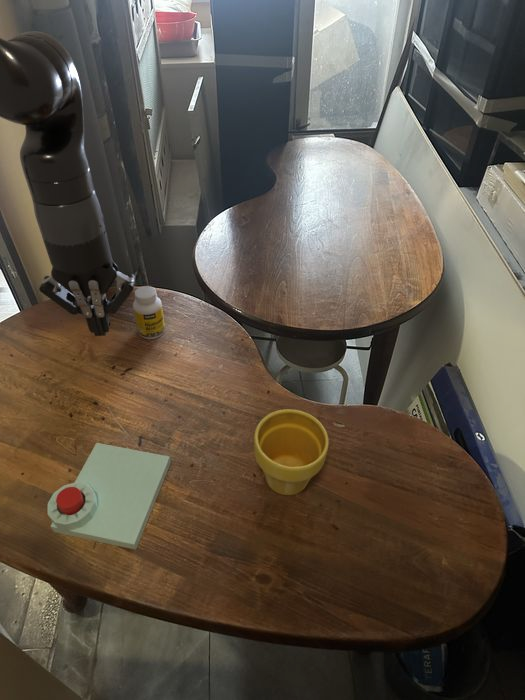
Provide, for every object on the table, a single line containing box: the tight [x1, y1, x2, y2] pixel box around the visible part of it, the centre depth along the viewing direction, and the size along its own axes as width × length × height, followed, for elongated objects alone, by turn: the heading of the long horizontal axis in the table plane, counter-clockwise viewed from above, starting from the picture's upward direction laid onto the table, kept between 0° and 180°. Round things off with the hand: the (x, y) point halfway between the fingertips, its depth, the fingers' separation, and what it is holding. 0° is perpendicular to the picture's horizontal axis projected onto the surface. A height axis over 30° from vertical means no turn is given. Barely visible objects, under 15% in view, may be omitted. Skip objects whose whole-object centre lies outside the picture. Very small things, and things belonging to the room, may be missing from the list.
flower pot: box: [253, 408, 330, 496], centre depth 70 cm, size 10×10×10 cm
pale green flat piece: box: [47, 442, 172, 551], centre depth 69 cm, size 13×14×4 cm
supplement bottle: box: [132, 285, 166, 340], centre depth 93 cm, size 5×5×10 cm
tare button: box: [56, 487, 84, 515], centre depth 65 cm, size 3×3×2 cm
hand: (101, 332), depth 71 cm, fingers closed
